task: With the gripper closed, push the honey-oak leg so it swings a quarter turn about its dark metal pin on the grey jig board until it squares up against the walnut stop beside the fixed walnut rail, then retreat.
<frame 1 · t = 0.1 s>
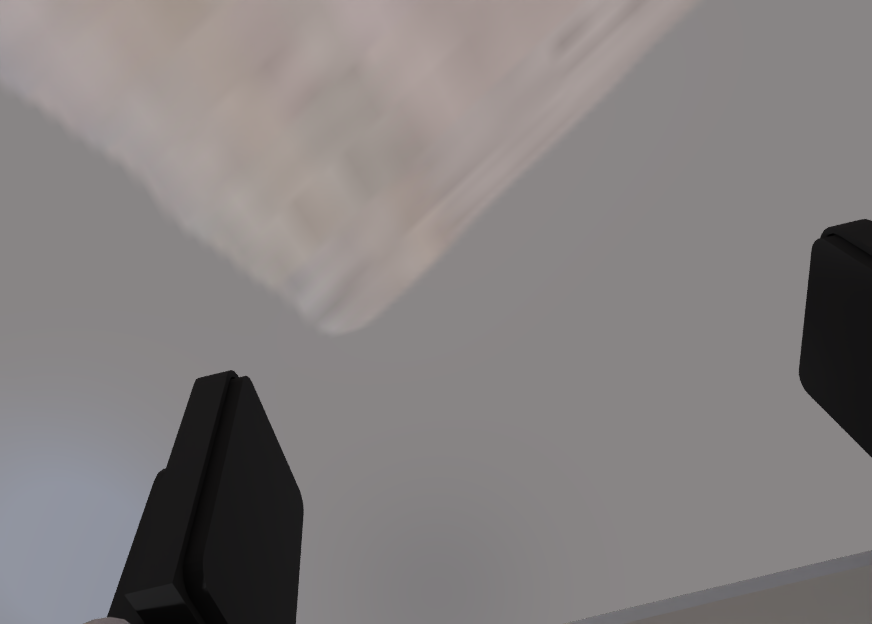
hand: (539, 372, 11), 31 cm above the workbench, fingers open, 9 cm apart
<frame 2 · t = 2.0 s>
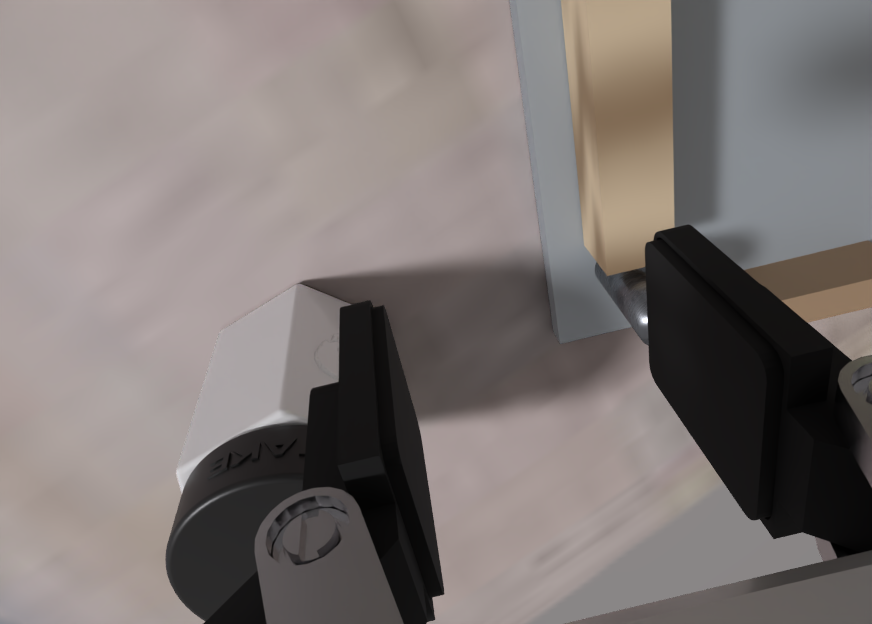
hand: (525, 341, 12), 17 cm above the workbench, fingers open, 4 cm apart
jar: (310, 360, 32), on the workbench
pivot pin: (607, 255, 31), resting on jig board
oak leg: (619, 111, 25), point 3 cm above the workbench, hinge at 0.0°
jig board: (757, 104, 28), on the workbench
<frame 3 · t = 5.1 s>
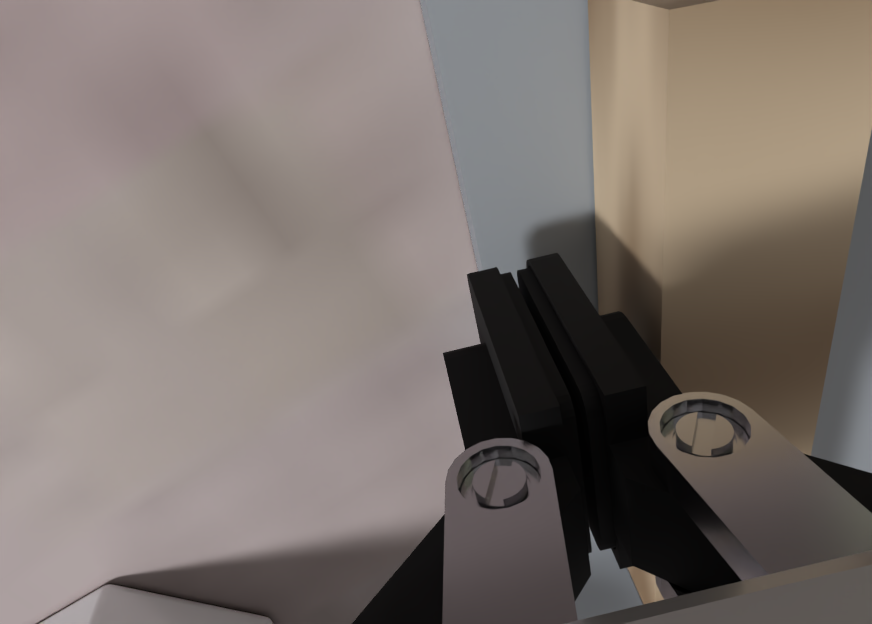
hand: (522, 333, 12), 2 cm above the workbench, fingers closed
oak leg: (700, 341, 12), point 3 cm above the workbench, hinge at 3.8°, touching gripper
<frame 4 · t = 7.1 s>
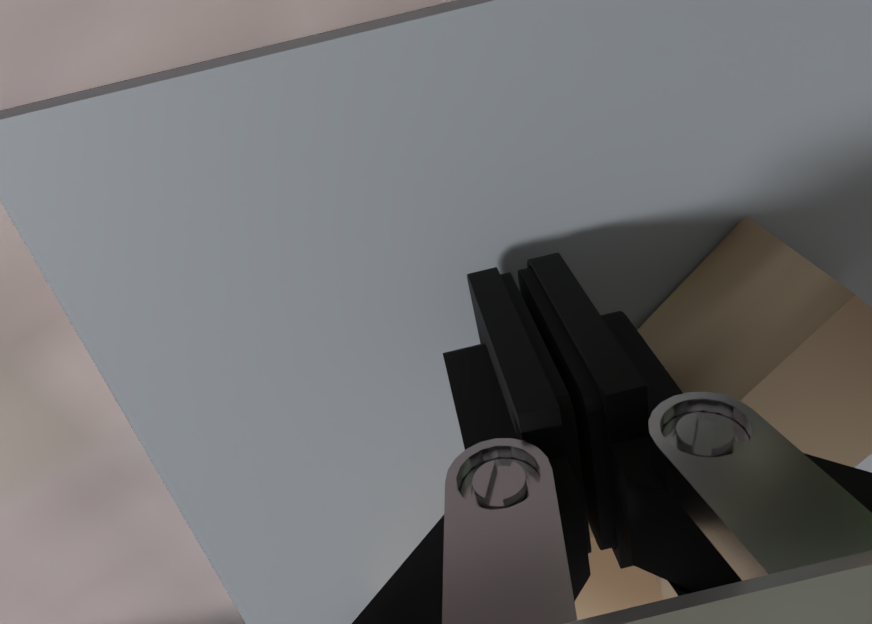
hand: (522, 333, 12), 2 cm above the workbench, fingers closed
oak leg: (602, 517, 13), point 3 cm above the workbench, hinge at 47.8°, touching gripper
jig board: (623, 398, 15), on the workbench
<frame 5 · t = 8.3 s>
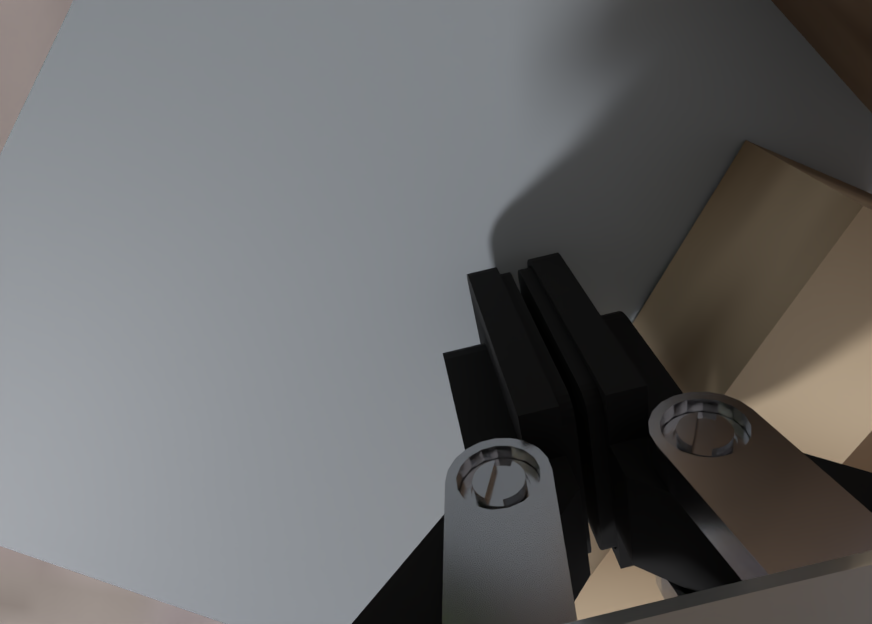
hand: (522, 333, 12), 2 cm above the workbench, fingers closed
oak leg: (663, 477, 13), point 3 cm above the workbench, hinge at 74.0°, touching gripper
jig board: (497, 323, 14), on the workbench
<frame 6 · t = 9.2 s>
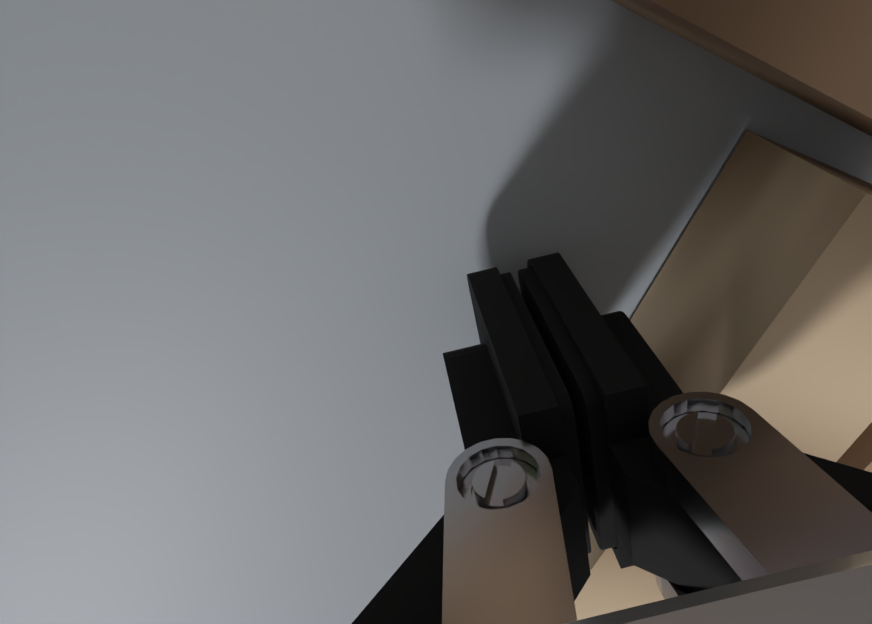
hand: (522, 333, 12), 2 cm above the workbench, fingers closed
oak leg: (664, 468, 13), point 3 cm above the workbench, hinge at 87.9°, touching gripper
jig board: (396, 332, 14), on the workbench
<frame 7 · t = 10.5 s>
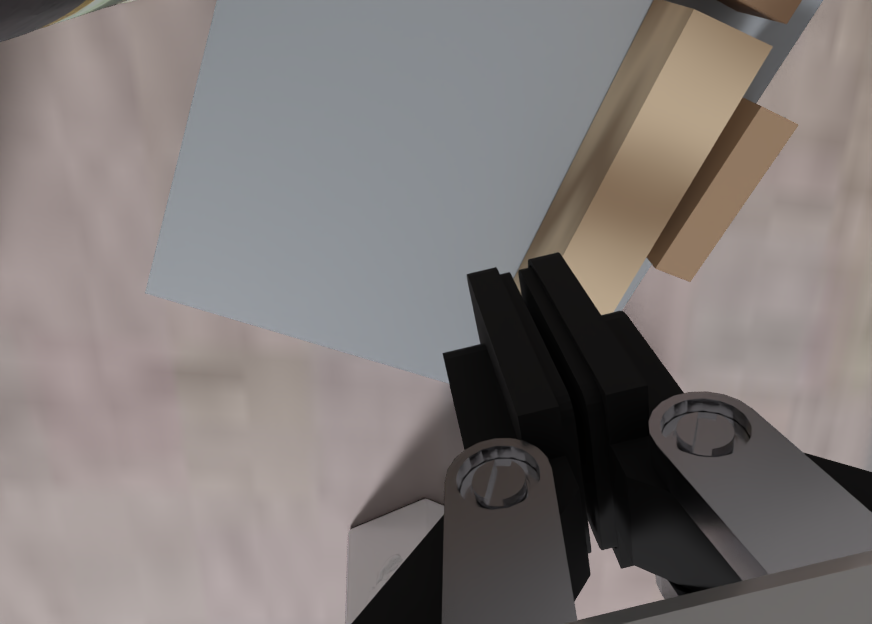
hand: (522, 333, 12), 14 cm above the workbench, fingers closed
jar: (420, 551, 36), on the workbench
oak leg: (615, 195, 23), point 3 cm above the workbench, hinge at 88.1°
jig board: (463, 129, 24), on the workbench
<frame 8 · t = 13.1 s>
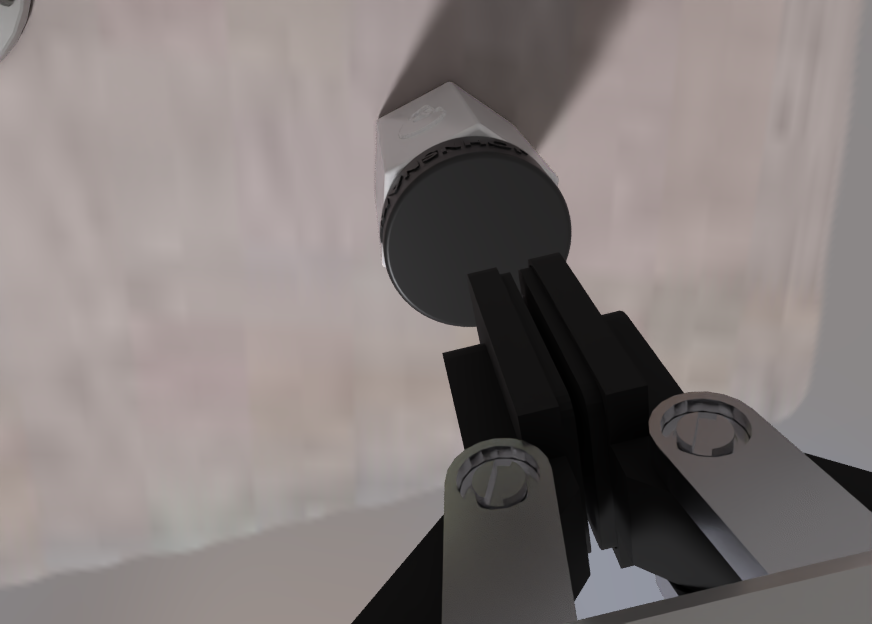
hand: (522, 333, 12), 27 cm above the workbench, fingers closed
jar: (442, 160, 38), on the workbench
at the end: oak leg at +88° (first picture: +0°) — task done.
